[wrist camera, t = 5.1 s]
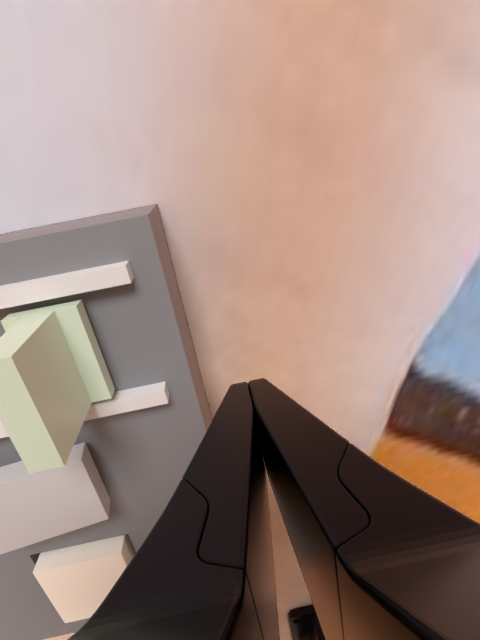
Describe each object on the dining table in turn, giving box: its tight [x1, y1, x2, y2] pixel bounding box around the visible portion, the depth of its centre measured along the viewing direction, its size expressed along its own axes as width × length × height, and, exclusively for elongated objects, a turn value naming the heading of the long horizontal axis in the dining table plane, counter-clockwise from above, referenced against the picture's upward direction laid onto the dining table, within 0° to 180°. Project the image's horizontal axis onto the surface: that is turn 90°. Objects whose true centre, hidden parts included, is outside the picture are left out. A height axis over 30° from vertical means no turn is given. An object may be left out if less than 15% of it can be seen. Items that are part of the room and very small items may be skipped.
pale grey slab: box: [0, 442, 110, 555], centre depth 15 cm, size 3×5×1 cm
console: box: [0, 204, 212, 640], centre depth 17 cm, size 20×14×4 cm
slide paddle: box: [0, 300, 115, 474], centre depth 11 cm, size 4×2×4 cm, turn 10°
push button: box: [33, 534, 136, 623], centre depth 19 cm, size 4×4×3 cm
